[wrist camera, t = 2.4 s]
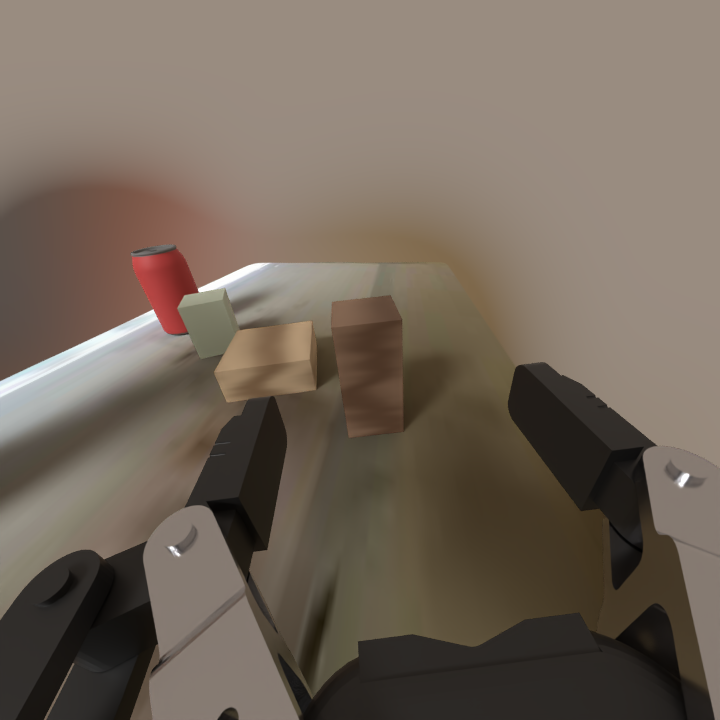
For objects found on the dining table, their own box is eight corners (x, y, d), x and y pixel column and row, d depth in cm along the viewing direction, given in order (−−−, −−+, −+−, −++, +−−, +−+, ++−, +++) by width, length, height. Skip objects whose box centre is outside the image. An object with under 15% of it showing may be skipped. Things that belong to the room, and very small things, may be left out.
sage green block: (200, 359, 37) (177, 308, 33) (204, 342, 41) (184, 295, 37) (240, 350, 38) (222, 299, 34) (241, 334, 42) (225, 287, 38)
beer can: (158, 332, 46) (117, 253, 39) (197, 315, 50) (165, 243, 44) (179, 340, 42) (138, 255, 36) (218, 322, 47) (188, 244, 40)
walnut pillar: (348, 438, 23) (331, 327, 18) (347, 402, 27) (332, 301, 22) (403, 431, 24) (402, 319, 18) (394, 396, 27) (390, 295, 22)
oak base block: (227, 404, 29) (213, 372, 27) (247, 358, 37) (237, 330, 35) (316, 392, 30) (309, 359, 27) (317, 349, 37) (312, 320, 35)
